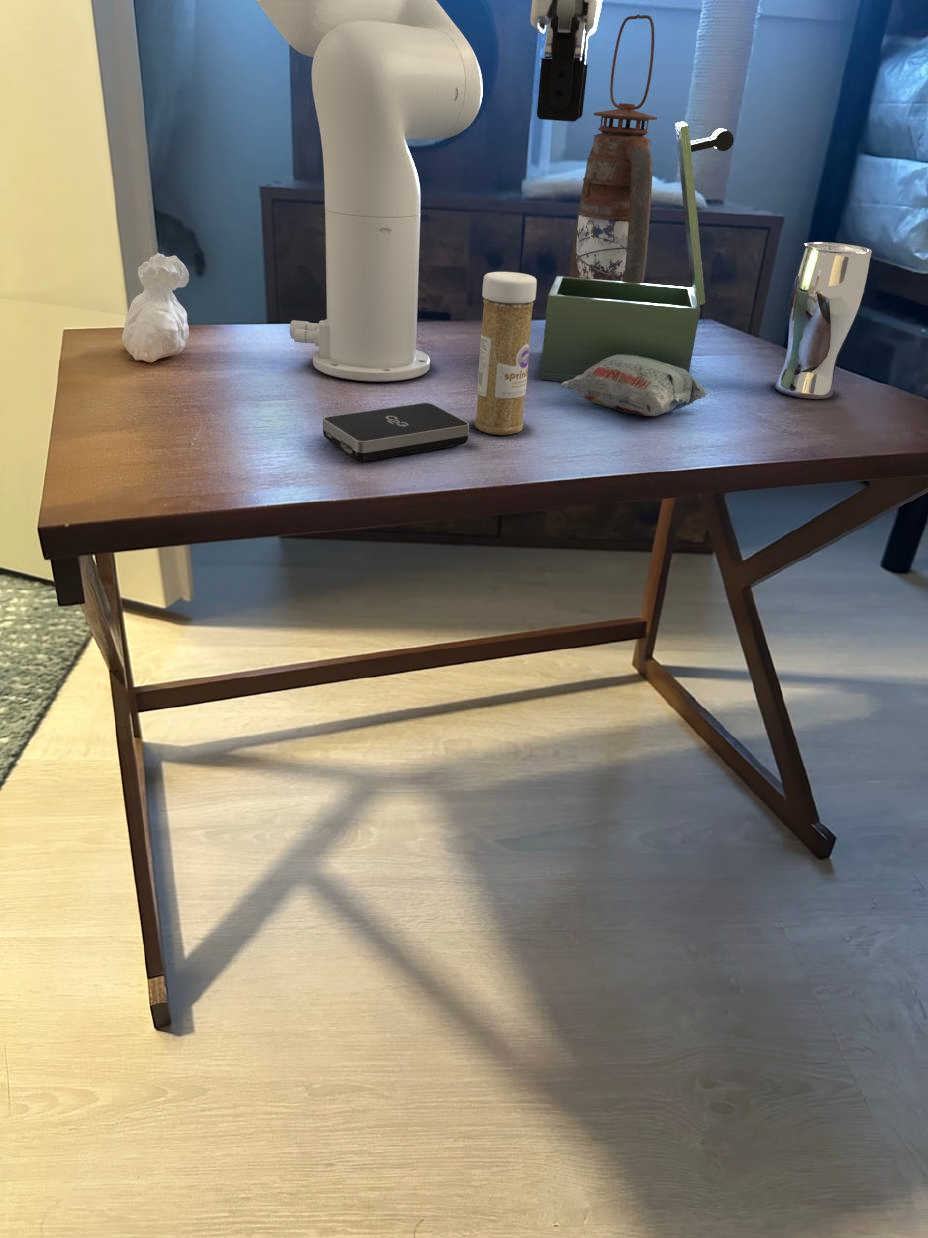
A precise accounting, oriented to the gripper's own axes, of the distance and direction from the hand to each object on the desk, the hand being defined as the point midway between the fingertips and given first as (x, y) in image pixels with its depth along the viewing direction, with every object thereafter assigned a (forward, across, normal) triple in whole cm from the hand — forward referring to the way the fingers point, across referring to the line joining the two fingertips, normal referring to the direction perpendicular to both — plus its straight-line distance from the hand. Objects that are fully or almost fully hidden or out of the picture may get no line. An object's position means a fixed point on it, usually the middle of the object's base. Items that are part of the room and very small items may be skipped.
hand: (560, 118), depth 75 cm
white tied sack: (+25, -10, -41) cm, 49 cm away
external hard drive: (+25, +10, -11) cm, 29 cm away
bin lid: (+8, -20, +13) cm, 26 cm away
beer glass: (+25, -20, +29) cm, 43 cm away
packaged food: (+25, -6, +9) cm, 28 cm away
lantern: (+25, -38, +6) cm, 46 cm away
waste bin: (+25, -20, +8) cm, 33 cm away
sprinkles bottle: (+25, +3, -3) cm, 26 cm away
